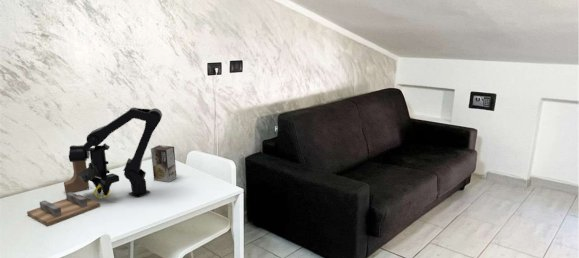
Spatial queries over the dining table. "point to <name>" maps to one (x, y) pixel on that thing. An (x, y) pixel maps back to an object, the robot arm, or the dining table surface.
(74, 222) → the dining table surface
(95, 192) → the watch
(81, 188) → the wooden block
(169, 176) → the coffee box
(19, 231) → the dining table surface
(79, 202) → the cradle
